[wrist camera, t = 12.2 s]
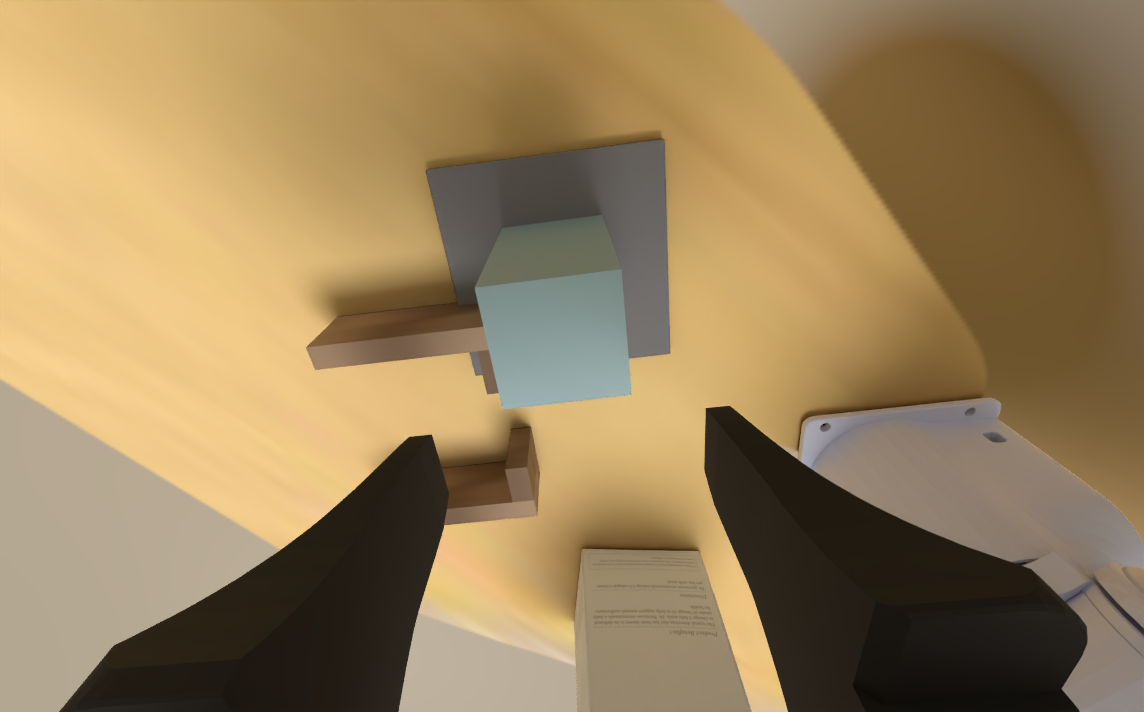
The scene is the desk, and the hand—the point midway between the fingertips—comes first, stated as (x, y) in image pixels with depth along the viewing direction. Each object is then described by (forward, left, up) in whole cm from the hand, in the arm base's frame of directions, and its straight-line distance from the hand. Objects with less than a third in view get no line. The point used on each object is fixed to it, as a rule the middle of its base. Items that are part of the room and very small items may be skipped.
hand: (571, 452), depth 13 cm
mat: (0, -2, -10) cm, 10 cm away
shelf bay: (+7, +4, -10) cm, 13 cm away
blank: (0, -2, -9) cm, 10 cm away
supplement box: (-2, +19, -10) cm, 22 cm away
